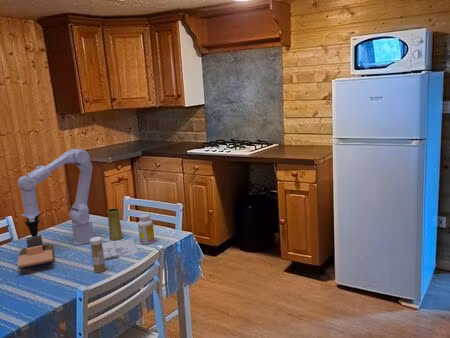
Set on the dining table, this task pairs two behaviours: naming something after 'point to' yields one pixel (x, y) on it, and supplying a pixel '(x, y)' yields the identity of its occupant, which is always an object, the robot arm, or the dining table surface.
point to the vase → (114, 224)
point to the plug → (34, 241)
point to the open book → (124, 249)
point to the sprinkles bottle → (97, 254)
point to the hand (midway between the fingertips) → (34, 233)
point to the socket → (45, 247)
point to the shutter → (35, 256)
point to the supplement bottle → (145, 229)
